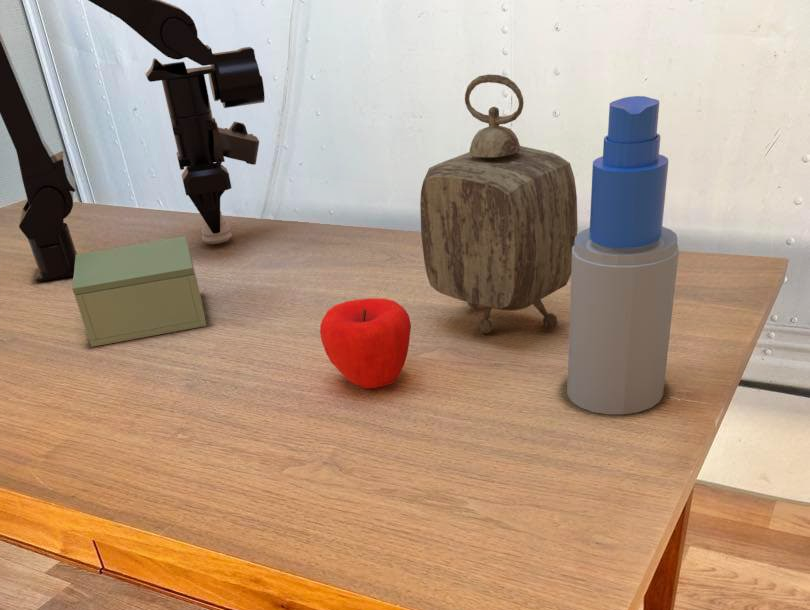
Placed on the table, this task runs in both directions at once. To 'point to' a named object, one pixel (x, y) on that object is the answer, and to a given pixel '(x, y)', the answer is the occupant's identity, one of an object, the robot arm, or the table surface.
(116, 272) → the chest lid
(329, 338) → the apple
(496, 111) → the tabletop clock
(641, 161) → the spray bottle
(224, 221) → the rook chess piece
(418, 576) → the table surface
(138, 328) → the chest
